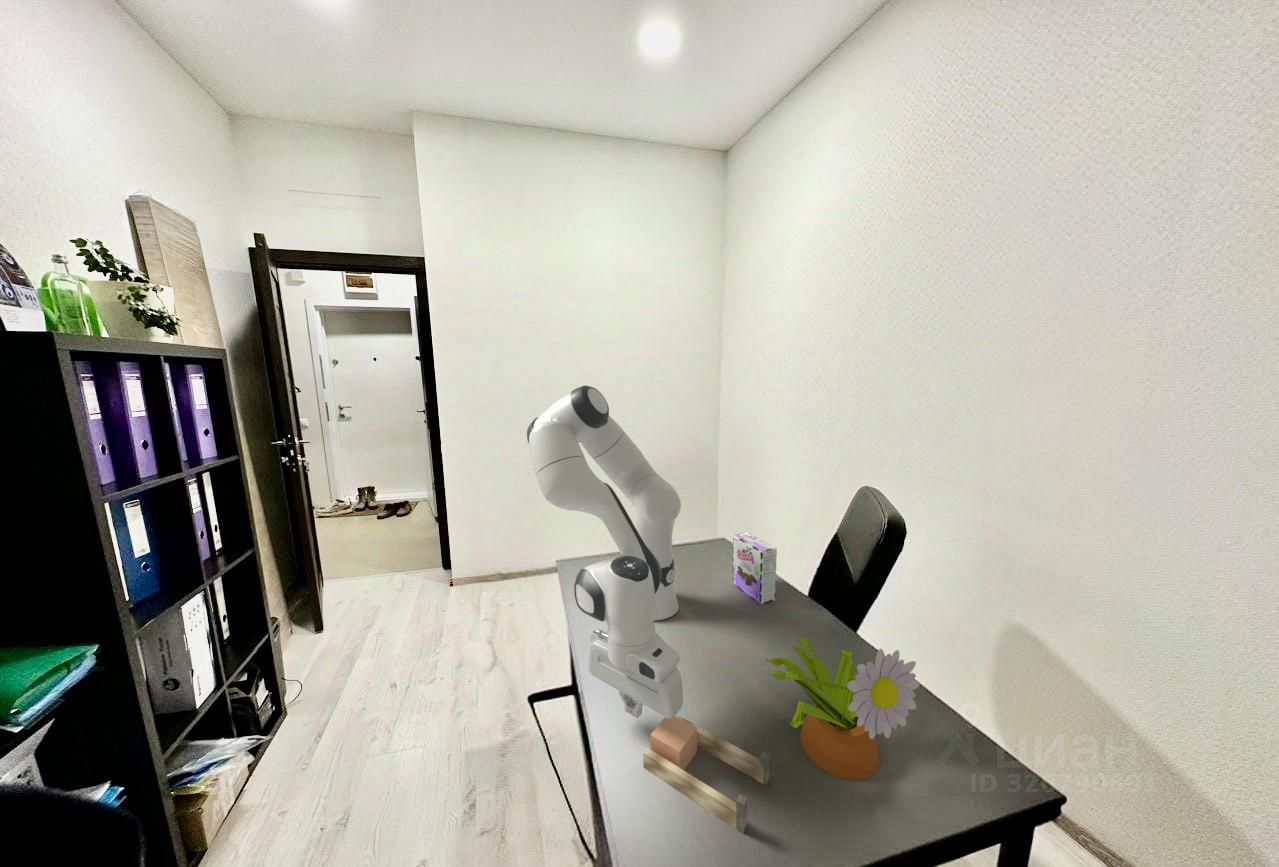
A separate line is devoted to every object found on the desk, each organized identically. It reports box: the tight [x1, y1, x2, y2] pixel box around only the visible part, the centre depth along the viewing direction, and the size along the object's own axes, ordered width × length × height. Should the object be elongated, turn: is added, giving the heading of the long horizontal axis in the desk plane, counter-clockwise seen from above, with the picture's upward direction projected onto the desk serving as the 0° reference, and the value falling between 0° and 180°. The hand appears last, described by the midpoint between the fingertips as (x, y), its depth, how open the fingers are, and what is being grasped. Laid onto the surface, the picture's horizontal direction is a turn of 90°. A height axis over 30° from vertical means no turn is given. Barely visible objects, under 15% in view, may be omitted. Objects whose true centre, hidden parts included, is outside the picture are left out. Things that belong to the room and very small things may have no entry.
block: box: [649, 716, 698, 771], centre depth 79 cm, size 6×6×5 cm
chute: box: [642, 713, 771, 834], centre depth 75 cm, size 19×10×5 cm, turn 53°
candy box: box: [732, 531, 778, 605], centre depth 132 cm, size 14×6×16 cm, turn 23°
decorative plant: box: [765, 637, 921, 781], centre depth 79 cm, size 27×24×25 cm
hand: (633, 712), depth 83 cm, fingers closed
